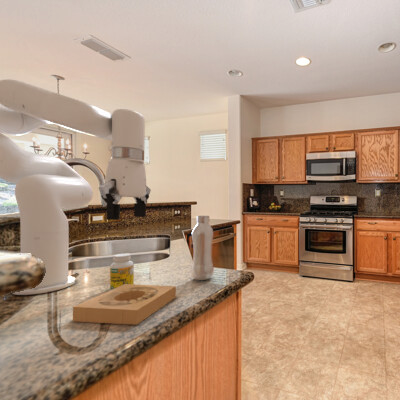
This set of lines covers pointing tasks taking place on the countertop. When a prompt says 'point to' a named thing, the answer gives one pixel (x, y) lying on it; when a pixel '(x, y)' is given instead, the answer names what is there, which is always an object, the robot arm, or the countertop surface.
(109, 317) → the socket pad
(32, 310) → the countertop surface
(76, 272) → the countertop surface
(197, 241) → the plastic bottle
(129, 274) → the supplement bottle
